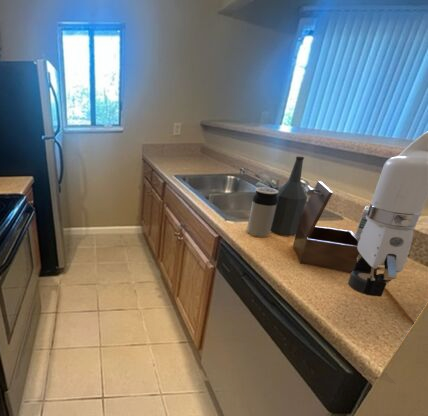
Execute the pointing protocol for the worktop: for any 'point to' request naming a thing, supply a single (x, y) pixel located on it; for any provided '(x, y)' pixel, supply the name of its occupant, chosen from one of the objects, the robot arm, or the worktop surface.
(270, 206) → the travel mug
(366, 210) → the syrup box
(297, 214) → the bottle
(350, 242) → the bin
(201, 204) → the worktop surface
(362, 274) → the tape
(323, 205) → the lid
